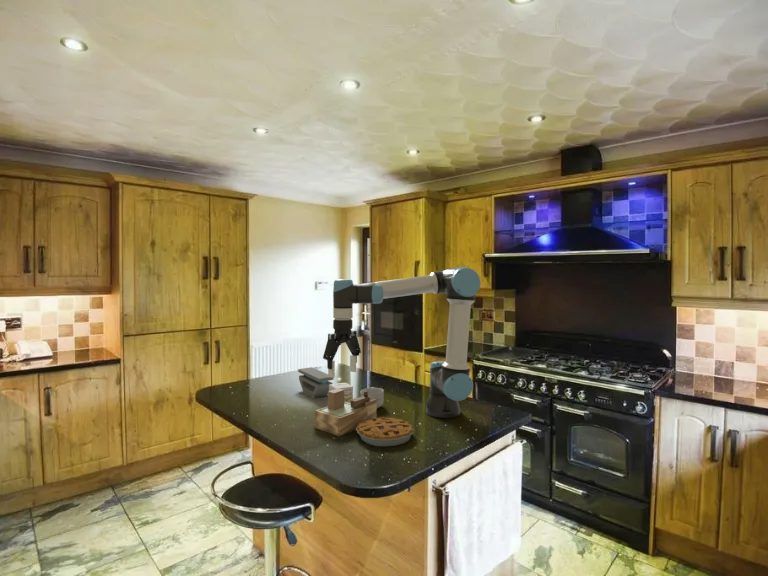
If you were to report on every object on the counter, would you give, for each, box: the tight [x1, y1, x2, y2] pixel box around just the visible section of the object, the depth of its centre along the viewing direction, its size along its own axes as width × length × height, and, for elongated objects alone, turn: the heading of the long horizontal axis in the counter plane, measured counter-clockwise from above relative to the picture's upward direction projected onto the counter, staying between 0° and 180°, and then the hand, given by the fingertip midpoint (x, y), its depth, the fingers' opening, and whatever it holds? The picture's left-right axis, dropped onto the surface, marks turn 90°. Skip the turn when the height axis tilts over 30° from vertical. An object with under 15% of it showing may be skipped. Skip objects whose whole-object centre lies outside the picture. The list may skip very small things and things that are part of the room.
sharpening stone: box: [297, 366, 335, 399], centre depth 217 cm, size 25×8×11 cm, turn 35°
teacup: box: [359, 386, 385, 409], centre depth 197 cm, size 14×11×8 cm
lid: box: [321, 388, 362, 417], centre depth 170 cm, size 11×13×8 cm
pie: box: [355, 416, 415, 447], centre depth 160 cm, size 22×22×5 cm
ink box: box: [329, 382, 354, 403], centre depth 190 cm, size 8×8×12 cm
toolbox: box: [314, 399, 378, 437], centre depth 173 cm, size 14×23×9 cm, turn 142°
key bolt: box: [351, 391, 370, 409], centre depth 174 cm, size 2×9×5 cm, turn 141°
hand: (342, 374), depth 166 cm, fingers open, 11 cm apart
